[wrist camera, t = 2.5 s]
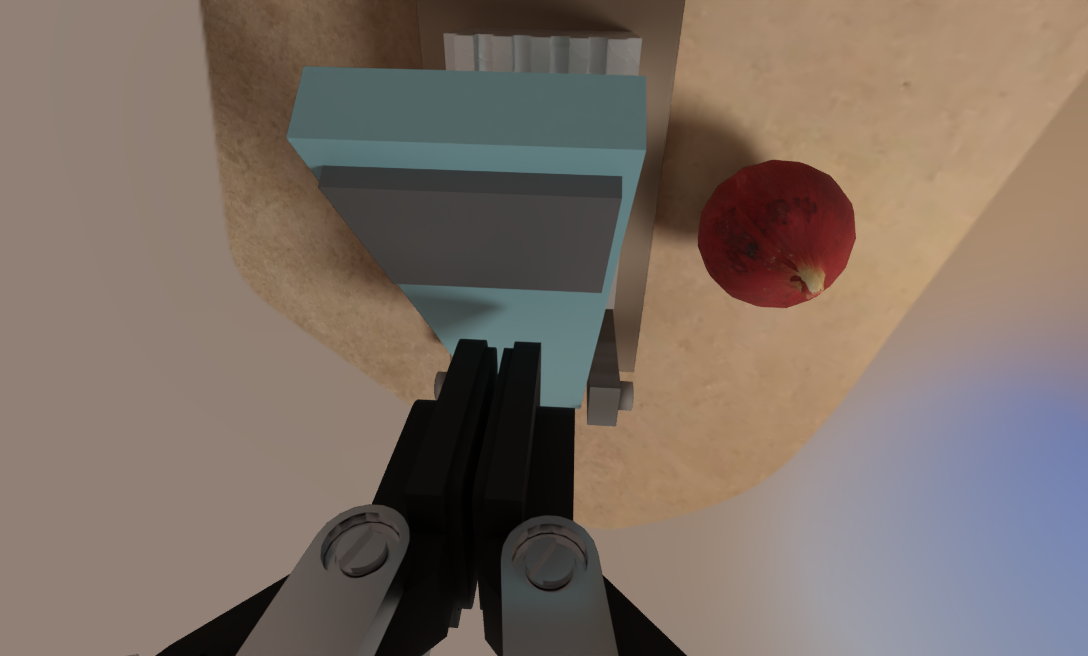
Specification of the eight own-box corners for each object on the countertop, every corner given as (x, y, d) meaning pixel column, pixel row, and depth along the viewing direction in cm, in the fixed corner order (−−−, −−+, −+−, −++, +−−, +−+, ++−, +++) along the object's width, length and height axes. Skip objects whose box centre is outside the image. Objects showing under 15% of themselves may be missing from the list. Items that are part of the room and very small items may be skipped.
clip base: (407, -216, 18) (262, -390, 10) (707, -214, 17) (815, -396, 9) (456, 347, 30) (410, 475, 22) (631, 355, 30) (650, 489, 22)
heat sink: (464, 27, 20) (437, 34, 16) (632, 31, 20) (644, 40, 16) (477, 264, 25) (459, 311, 22) (609, 270, 25) (614, 319, 21)
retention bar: (303, 66, 6) (280, 161, 6) (646, 75, 6) (646, 173, 6) (490, 381, 23) (488, 410, 23) (580, 386, 23) (579, 415, 23)
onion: (662, 233, 26) (691, 318, 19) (729, 119, 23) (792, 170, 16) (764, 278, 27) (826, 374, 20) (841, 173, 24) (945, 244, 17)
